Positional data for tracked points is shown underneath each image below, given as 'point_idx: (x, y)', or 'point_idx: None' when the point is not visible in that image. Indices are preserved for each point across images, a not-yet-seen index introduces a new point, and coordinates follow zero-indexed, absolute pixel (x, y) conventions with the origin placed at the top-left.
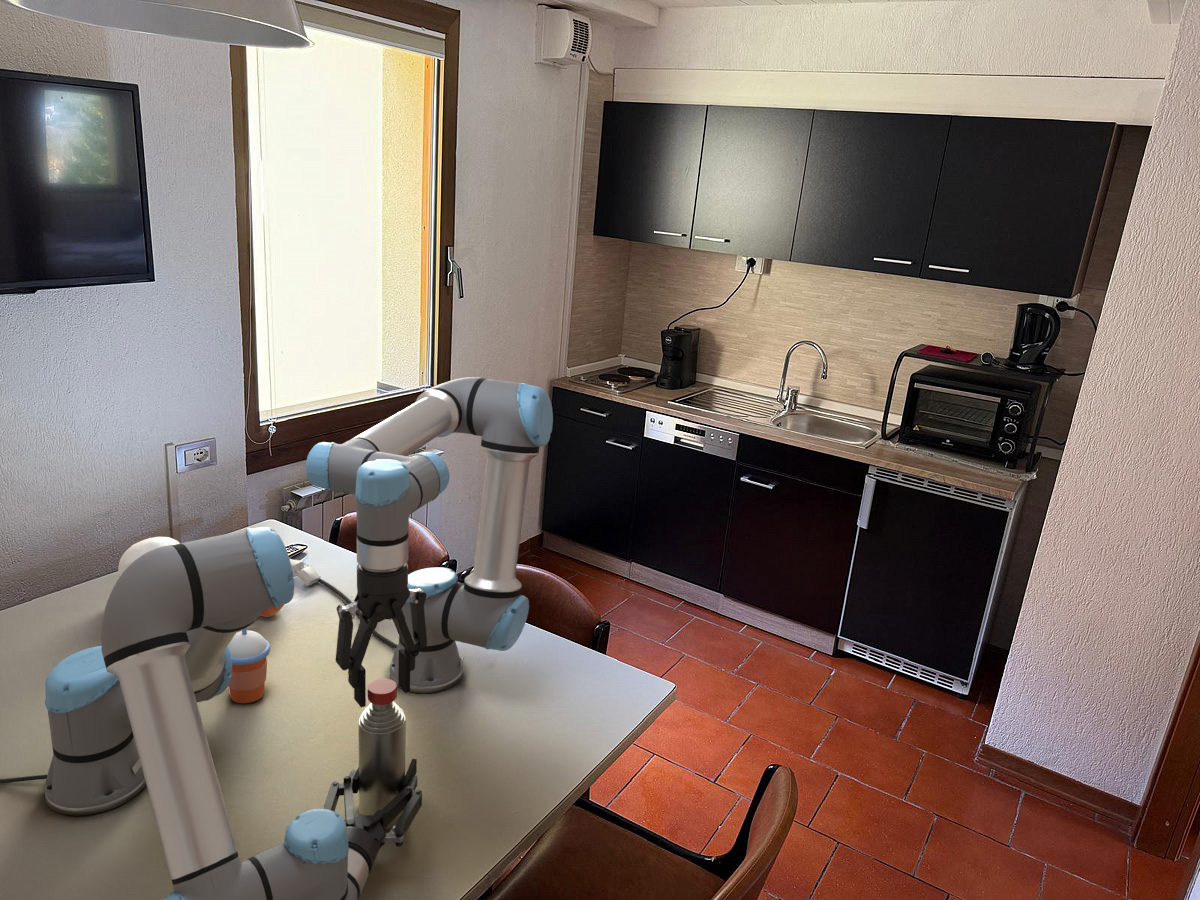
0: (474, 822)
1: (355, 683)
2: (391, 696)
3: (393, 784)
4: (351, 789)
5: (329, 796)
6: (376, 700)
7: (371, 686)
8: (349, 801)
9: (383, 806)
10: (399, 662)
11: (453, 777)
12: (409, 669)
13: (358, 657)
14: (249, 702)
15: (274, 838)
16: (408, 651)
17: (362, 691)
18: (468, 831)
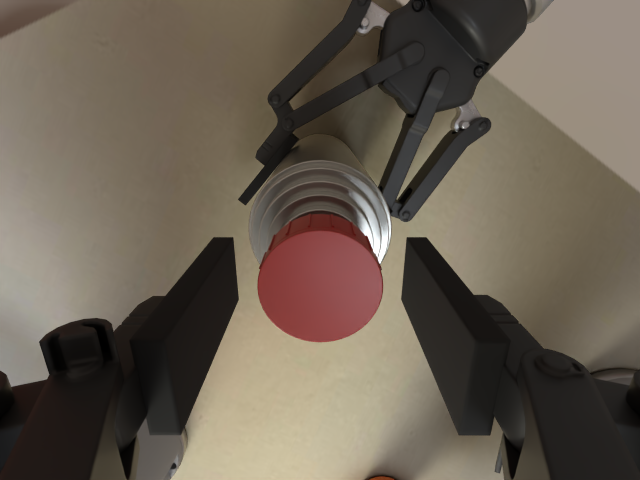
0: (186, 64)
1: (485, 308)
2: (303, 224)
3: (316, 141)
4: (387, 183)
5: (431, 186)
6: (363, 238)
7: (361, 308)
8: (407, 151)
9: (335, 140)
10: (205, 364)
11: (178, 192)
12: (176, 288)
13: (601, 437)
14: (385, 477)
15: (477, 211)
16: (123, 382)
17: (443, 267)
18: (205, 48)
